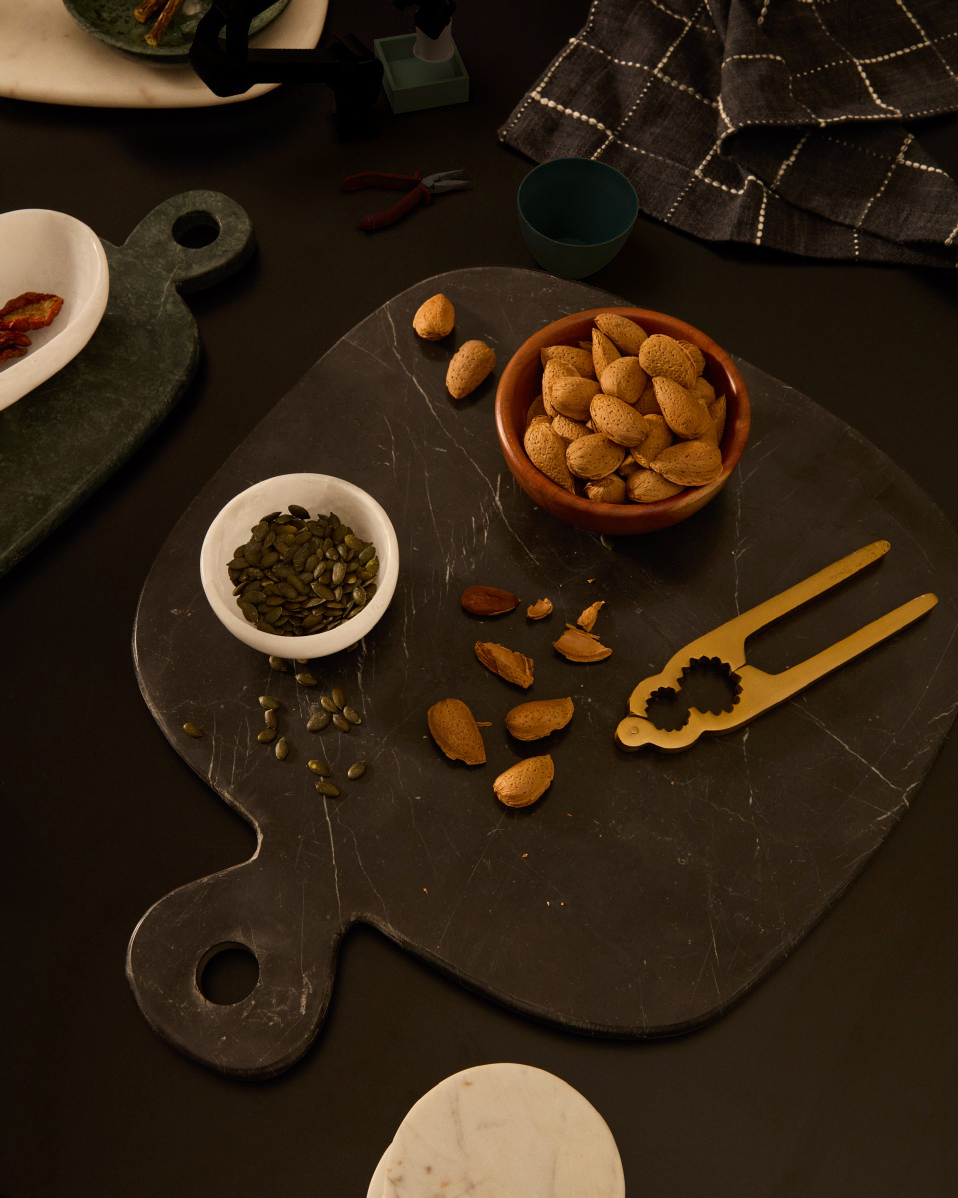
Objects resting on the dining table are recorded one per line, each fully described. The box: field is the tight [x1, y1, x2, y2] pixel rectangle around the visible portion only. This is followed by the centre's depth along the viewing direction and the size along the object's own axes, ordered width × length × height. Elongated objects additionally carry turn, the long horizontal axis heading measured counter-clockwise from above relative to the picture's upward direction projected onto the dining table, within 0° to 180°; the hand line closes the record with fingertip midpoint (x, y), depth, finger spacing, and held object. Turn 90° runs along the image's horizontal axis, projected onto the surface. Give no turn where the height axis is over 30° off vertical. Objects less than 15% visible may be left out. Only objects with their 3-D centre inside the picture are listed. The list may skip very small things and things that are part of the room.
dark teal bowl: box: [516, 156, 640, 281], centre depth 151 cm, size 18×18×12 cm
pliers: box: [342, 168, 471, 231], centre depth 160 cm, size 12×20×3 cm, turn 110°
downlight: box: [413, 5, 454, 64], centre depth 162 cm, size 8×7×10 cm
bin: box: [373, 32, 470, 115], centre depth 171 cm, size 14×14×5 cm
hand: (438, 12), depth 161 cm, fingers closed on downlight, 6 cm apart
